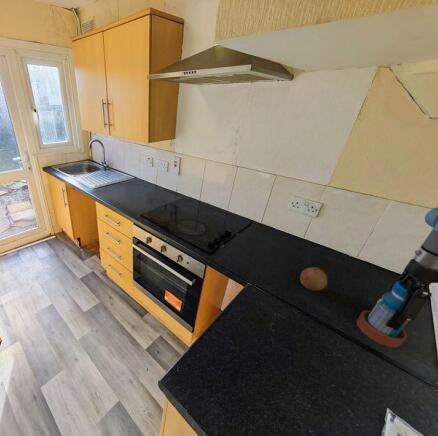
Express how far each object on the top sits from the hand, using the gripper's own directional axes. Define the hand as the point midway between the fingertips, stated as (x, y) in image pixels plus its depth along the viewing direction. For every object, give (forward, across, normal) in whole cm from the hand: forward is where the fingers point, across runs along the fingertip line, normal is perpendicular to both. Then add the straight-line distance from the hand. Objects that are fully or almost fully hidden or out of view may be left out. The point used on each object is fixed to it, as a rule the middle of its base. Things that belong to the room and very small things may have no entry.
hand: (388, 317), depth 77 cm
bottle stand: (+7, 0, 0) cm, 7 cm away
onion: (+7, -11, -21) cm, 25 cm away
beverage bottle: (+6, 0, 0) cm, 6 cm away
